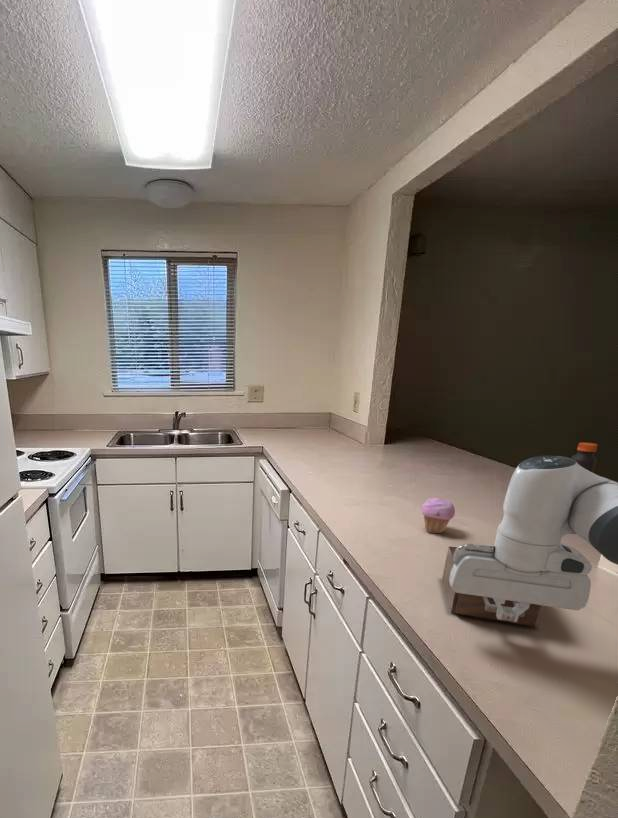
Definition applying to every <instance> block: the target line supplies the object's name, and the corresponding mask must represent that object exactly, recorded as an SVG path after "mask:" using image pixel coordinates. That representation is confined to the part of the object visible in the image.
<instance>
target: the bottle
mask: <svg viewBox="0 0 618 818" xmlns="http://www.w3.org/2000/svg"><path fill="white" fill-rule="evenodd" d="M598 446H599V445H598V444H597V443H593V442H578V445H577V448H576V452H577V453H576V454H574V455H572V456H571V457H570V458H571V459H574V460H575V461H576V462H577V463H578V464H579V465H580V466H581V467H583V468H585V469H586V470H588V471H590V472H592V473H594V470H595V467H596V464H597V461H598V460H597V458H596V457H595V456H594V454H595V453H596V452H597V450H598Z"/></svg>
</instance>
